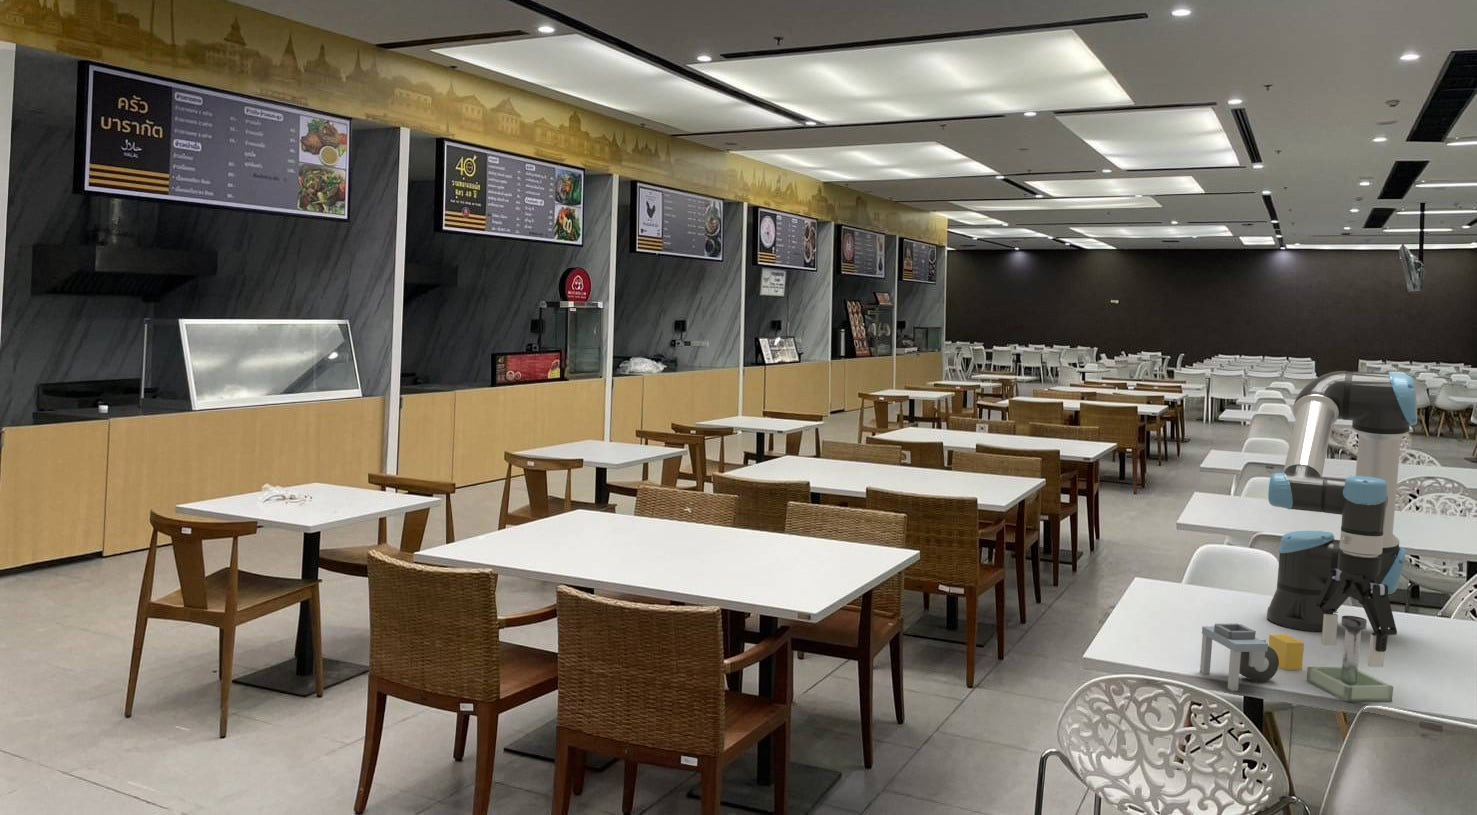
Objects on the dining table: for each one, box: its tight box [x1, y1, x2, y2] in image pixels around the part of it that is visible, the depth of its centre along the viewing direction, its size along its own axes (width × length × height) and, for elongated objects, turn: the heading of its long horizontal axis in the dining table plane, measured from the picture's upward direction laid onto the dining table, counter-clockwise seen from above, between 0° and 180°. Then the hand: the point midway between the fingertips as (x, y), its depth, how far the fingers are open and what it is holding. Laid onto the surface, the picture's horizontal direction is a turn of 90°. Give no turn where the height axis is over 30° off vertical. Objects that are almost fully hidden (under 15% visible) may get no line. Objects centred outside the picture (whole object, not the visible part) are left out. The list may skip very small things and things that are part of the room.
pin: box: [1340, 615, 1368, 686], centre depth 215 cm, size 4×4×15 cm
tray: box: [1306, 666, 1394, 703], centre depth 216 cm, size 10×12×3 cm
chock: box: [1268, 633, 1305, 671], centre depth 231 cm, size 4×6×6 cm, turn 8°
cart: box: [1199, 623, 1279, 692], centre depth 220 cm, size 12×13×11 cm
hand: (1351, 655), depth 215 cm, fingers open, 13 cm apart
